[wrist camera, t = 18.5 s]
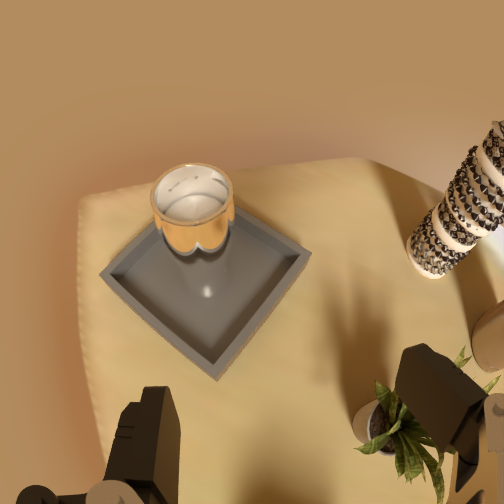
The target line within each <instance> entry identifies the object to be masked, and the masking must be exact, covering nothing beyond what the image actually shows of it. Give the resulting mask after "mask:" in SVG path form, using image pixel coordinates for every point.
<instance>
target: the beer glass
mask: <svg viewBox="0 0 504 504" xmlns="http://www.w3.org/2000/svg"><path fill="white" fill-rule="evenodd" d="M150 201H151V205H152V209H153V214H154V219H155V223H156V227H157V231H158V234H159V237H160V239H161V241H162V244H163V246H164V248H165V249H166V251H167V253H168V254H169V256H170V257H171V258H172V260H173V261H174V262H175V263H176V265H177V266H178V267H179V269H180V281H181V284H182V286H183V288H184V289H185V290H186V292H188V293H189V294H190V295H192V296H194V297H197V298H202V299H207V298H212V297H215V296H217V295H219V294H220V293H222V292H223V291H224V290H225V289H226V287H227V286H228V284H229V281H230V268H229V265H228V263H227V258H228V255H229V252H230V249H231V246H232V242H233V238H234V232H235V207H234V199H233V186H232V182H231V180H230V178H229V177H228V176H227V174H226V173H225V172H223V171H222V170H221V169H219V168H217V167H215V166H213V165H210V164H205V163H186V164H182V165H178V166H176V167H173V168H171V169H169V170H168V171H166V172H165V173H164V174H162V175H161V176H160V177H159V178H158V179H157V181H156V182H155V183H154V185H153V187H152V190H151V194H150Z"/></svg>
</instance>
